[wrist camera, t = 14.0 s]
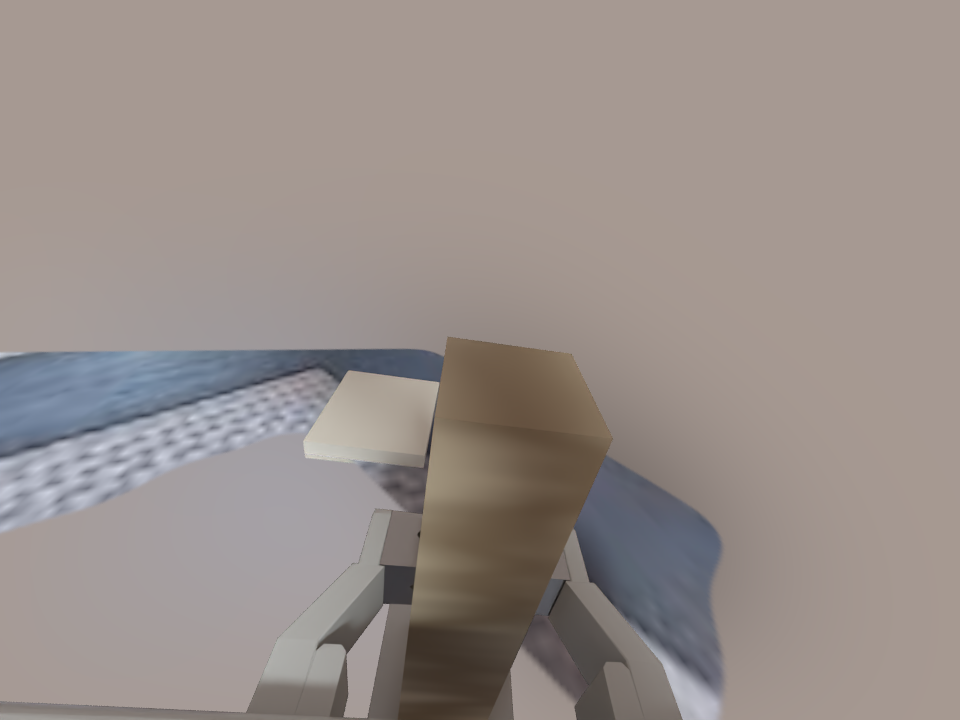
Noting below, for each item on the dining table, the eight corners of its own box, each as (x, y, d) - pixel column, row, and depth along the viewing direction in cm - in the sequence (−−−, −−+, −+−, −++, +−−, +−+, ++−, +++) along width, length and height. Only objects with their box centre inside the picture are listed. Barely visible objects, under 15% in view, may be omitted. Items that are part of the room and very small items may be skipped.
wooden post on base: (348, 820, 10) (324, 521, 4) (396, 576, 17) (417, 300, 10) (516, 824, 11) (747, 560, 4) (501, 585, 17) (588, 326, 10)
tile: (303, 441, 23) (348, 370, 31) (305, 458, 24) (349, 385, 32) (424, 455, 24) (439, 382, 32) (423, 472, 25) (437, 396, 33)
